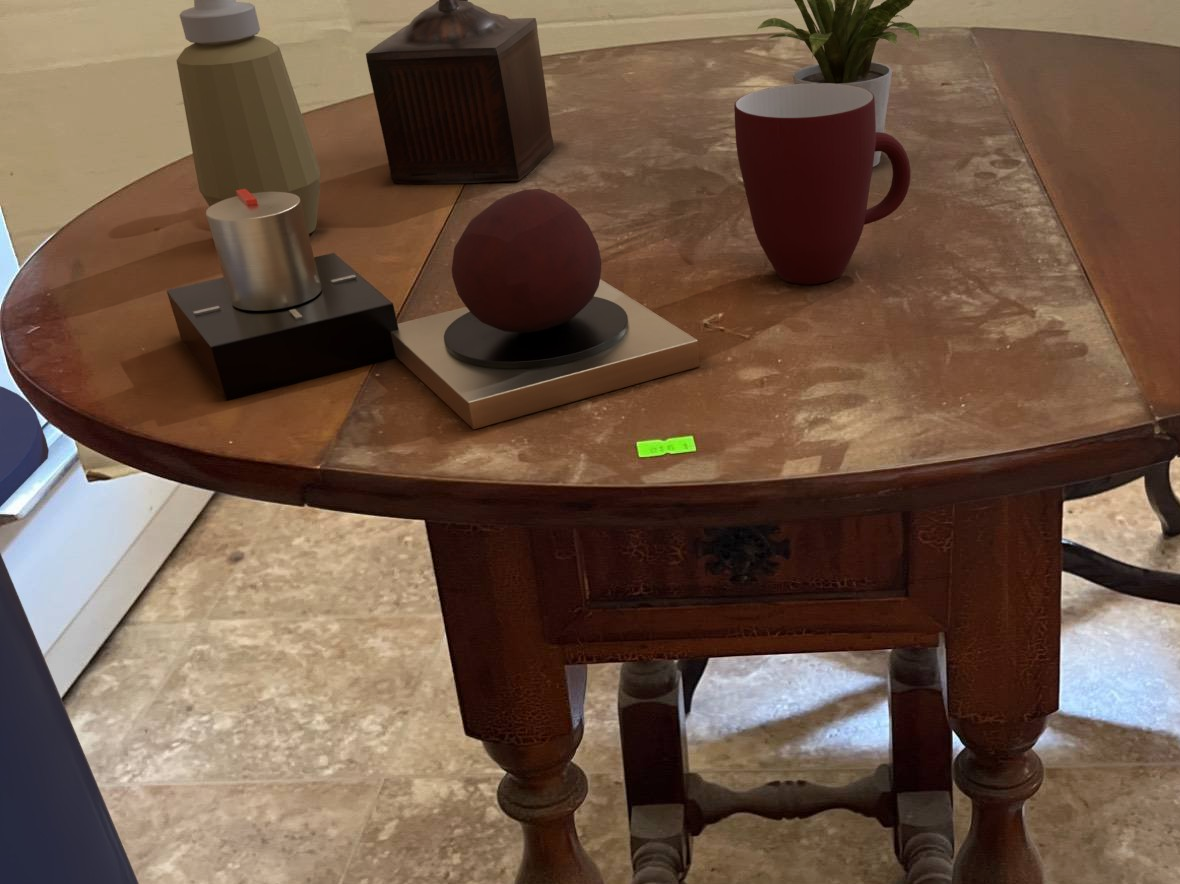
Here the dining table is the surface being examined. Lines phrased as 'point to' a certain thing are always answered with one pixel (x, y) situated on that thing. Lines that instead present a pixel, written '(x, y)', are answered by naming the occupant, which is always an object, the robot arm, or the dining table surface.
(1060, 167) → the dining table surface
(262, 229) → the dial
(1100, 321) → the dining table surface
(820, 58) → the house plant
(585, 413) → the dining table surface
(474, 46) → the grooved wooden box
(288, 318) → the control panel
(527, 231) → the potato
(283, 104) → the squeeze bottle
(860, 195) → the mug
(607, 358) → the hotplate
